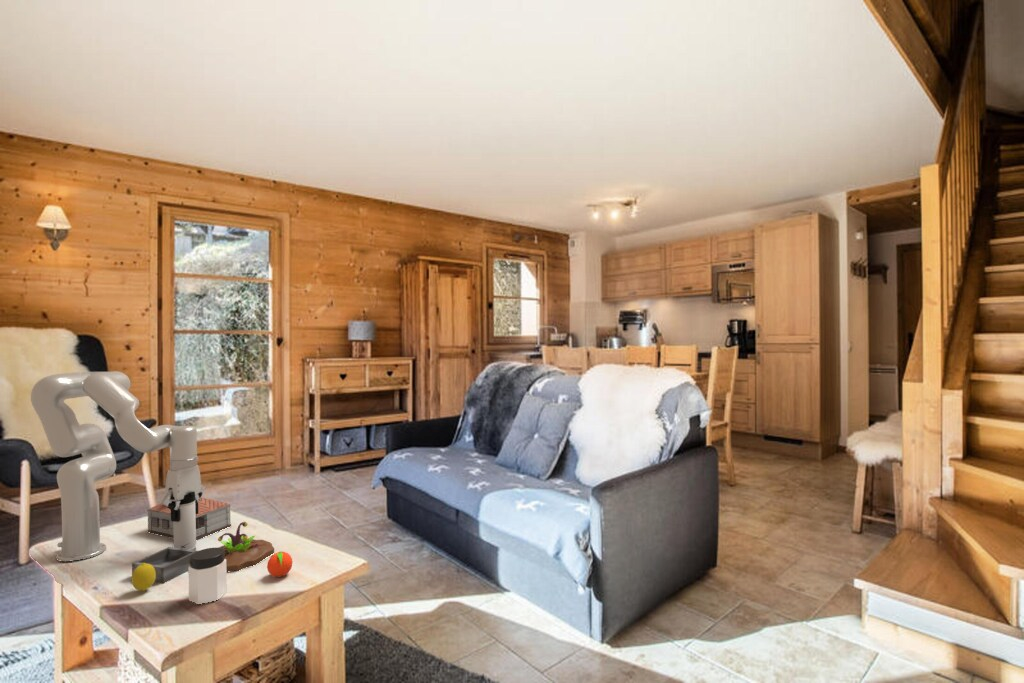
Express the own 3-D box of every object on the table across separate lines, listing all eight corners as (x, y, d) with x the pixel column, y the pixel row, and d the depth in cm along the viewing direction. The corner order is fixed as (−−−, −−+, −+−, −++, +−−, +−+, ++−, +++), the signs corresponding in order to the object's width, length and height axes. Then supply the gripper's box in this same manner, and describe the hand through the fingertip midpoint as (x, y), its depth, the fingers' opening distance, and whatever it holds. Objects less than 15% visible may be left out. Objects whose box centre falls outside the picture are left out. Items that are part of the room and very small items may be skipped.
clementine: (294, 579, 151) (294, 555, 151) (268, 585, 148) (268, 560, 148) (291, 568, 158) (290, 545, 158) (266, 573, 155) (265, 550, 155)
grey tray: (132, 578, 152) (131, 563, 152) (168, 561, 164) (168, 547, 164) (163, 583, 149) (163, 567, 149) (199, 565, 161) (198, 550, 161)
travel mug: (186, 556, 167) (185, 495, 167) (169, 555, 169) (168, 494, 168) (201, 548, 173) (200, 489, 173) (184, 547, 175) (183, 488, 174)
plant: (286, 552, 171) (285, 518, 171) (231, 577, 153) (230, 540, 153) (246, 541, 180) (245, 509, 180) (190, 564, 162) (189, 529, 162)
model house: (146, 533, 188) (145, 492, 188) (188, 519, 202) (187, 481, 202) (191, 543, 179) (190, 500, 178) (231, 527, 193) (230, 487, 193)
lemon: (152, 584, 149) (151, 557, 148) (158, 590, 145) (158, 562, 145) (129, 592, 144) (128, 563, 144) (135, 598, 141) (134, 569, 141)
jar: (203, 588, 146) (202, 546, 146) (231, 588, 146) (231, 546, 146) (182, 605, 137) (181, 560, 137) (213, 605, 137) (212, 560, 137)
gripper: (197, 456, 180) (198, 508, 180) (150, 469, 163) (151, 525, 164) (214, 458, 178) (215, 509, 178) (169, 471, 161) (170, 528, 162)
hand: (184, 516), depth 171 cm, fingers closed on travel mug, 6 cm apart
